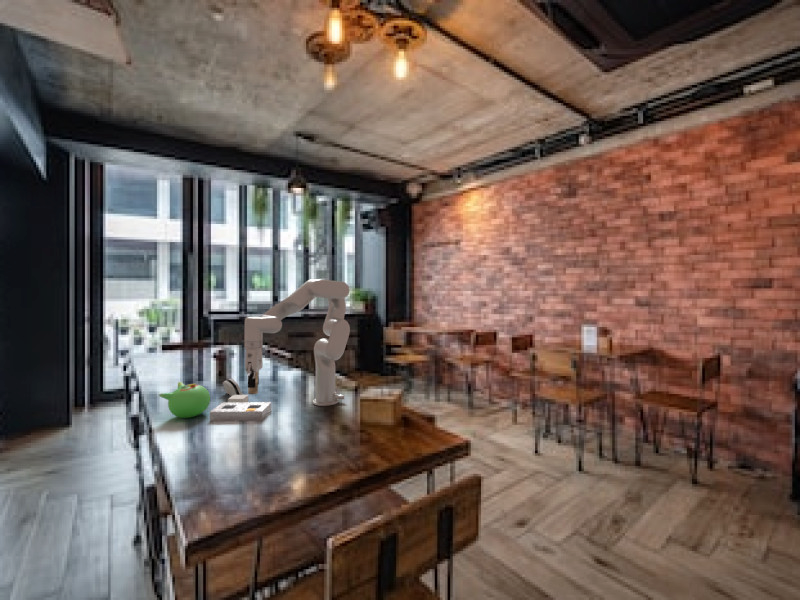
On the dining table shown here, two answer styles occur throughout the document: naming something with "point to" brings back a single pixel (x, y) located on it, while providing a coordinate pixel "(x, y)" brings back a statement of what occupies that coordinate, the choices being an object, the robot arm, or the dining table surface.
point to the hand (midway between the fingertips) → (253, 385)
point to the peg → (255, 390)
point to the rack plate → (241, 411)
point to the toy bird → (187, 400)
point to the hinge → (232, 387)
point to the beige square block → (238, 398)
